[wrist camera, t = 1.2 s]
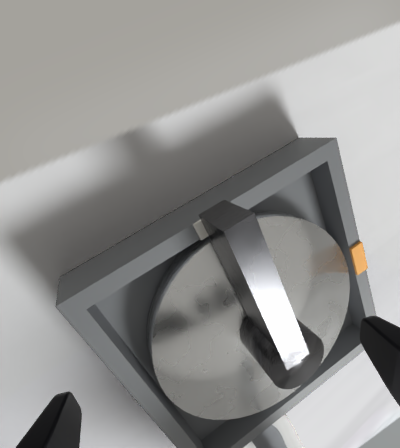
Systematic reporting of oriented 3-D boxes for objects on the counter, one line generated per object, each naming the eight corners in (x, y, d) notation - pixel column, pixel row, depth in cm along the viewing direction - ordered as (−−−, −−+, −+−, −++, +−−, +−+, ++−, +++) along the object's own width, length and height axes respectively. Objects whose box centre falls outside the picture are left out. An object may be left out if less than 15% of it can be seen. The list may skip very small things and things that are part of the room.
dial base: (189, 437, 24) (205, 482, 21) (60, 277, 17) (55, 308, 14) (349, 315, 28) (383, 338, 25) (299, 137, 20) (338, 137, 17)
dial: (350, 324, 25) (407, 364, 21) (205, 436, 22) (236, 511, 18) (298, 141, 18) (368, 142, 14) (78, 269, 15) (77, 322, 11)
